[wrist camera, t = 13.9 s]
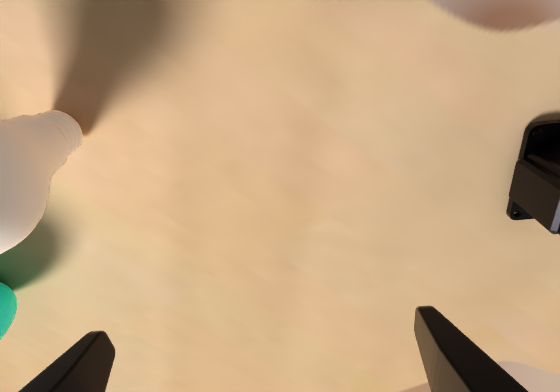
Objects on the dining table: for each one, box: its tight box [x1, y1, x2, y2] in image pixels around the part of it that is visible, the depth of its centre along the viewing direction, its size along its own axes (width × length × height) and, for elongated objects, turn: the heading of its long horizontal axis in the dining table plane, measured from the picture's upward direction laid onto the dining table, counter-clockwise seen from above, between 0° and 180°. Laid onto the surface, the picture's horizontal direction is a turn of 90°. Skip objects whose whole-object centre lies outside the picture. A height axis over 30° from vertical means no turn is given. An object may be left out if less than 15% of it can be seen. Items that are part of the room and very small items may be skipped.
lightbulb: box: [0, 110, 83, 254], centre depth 16 cm, size 6×6×11 cm
